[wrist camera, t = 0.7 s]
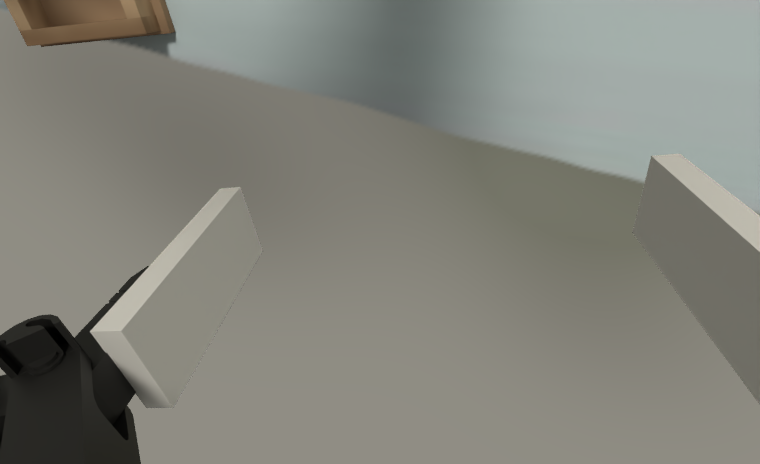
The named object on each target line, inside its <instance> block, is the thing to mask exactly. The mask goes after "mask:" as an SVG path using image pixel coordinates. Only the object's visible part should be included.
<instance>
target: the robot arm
mask: <svg viewBox="0 0 760 464" xmlns="http://www.w3.org/2000/svg"><path fill="white" fill-rule="evenodd" d="M632 233H633V234H634V236H635V237H636V238H637V240H638V241H639V242H640V244H641V245H642V246H643V248H644V249H645V250H646V252H647V253H648V254H649V256H650V257H651V258H652V259H653V261H654V262H655V264H656V265H657V267H658V268H659V269H660V271H661V272H662V273H663V274H664V276H665V277H666V279H667V280H668V281H669V282H670V284H671V285H672V287H673V288H674V289H675V291H676V292H677V293H678V295H679V296H680V297H681V299H682V300H683V302H684V303H685V304H686V306H687V307H688V308H689V310H690V311H691V312H692V314H693V315H694V316H695V318H696V319H697V320H698V322H699V323H700V325H701V326H702V327H703V329H704V330H705V331H706V333H707V334H708V335H709V337H710V338H711V339H712V341H713V342H714V343H715V345H716V346H717V347H718V349H719V350H720V352H721V353H722V354H723V355H724V357H725V358H726V360H727V361H728V362H729V364H730V365H731V366H732V368H733V369H734V370H735V372H736V373H737V374H738V376H739V377H740V378H741V380H742V381H743V383H744V384H745V385H746V387H747V388H748V389H749V391H750V392H751V393H752V395H753V396H754V397H755V399H756V400H757V401H758V403H759V404H760V216H759V215H758V214H756V213H755V212H754V211H753V210H751V209H750V208H749V207H747V206H746V205H745V204H744V203H742V202H741V201H740V200H738V199H737V198H736V197H735V196H733V195H732V194H731V193H729V192H728V191H727V190H726V189H724V188H723V187H722V186H720V185H719V184H718V183H717V182H715V181H714V180H713V179H711V178H710V177H709V176H708V175H706V174H705V173H704V172H703V171H701V170H700V169H699V168H697V167H696V166H695V165H694V164H692V163H691V162H690V161H688V160H687V159H686V158H685V157H683V156H682V155H681V154H671V155H657V156H651V160H650V164H649V168H648V172H647V176H646V180H645V184H644V188H643V192H642V196H641V200H640V204H639V208H638V212H637V216H636V220H635V224H634V228H633V232H632ZM262 252H263V249H262V246H261V243H260V240H259V238H258V235H257V232H256V229H255V227H254V224H253V221H252V218H251V215H250V212H249V209H248V207H247V204H246V201H245V198H244V195H243V193H242V190H241V187H233V188H220V189H219V190H218V191H217V192H216V194H215V195H214V196H213V197H212V198H211V199H210V200H209V201H208V202H207V203H206V205H205V206H204V207H203V208H202V209H201V210H200V211H199V212H198V213H197V214H196V216H195V217H194V218H193V219H192V220H191V221H190V222H189V223H188V224H187V225H186V226H185V228H184V229H183V230H182V231H181V232H180V233H179V234H178V235H177V236H176V237H175V239H174V240H173V241H172V242H171V243H170V244H169V245H168V246H167V247H166V249H165V250H164V251H163V252H162V253H161V254H160V255H159V256H158V257H157V258H156V259H155V261H154V262H153V263H152V264H151V265H150V266H147V267H146V268H144V269H143V270H141V271H140V272H139V273H137V274H136V275H134V276H132V277H131V278H130V279H129V280H128V281H127V282H126V283H125V285H123V287H122V288H121V289H120V290H119V293H116V294H115V295H114V296H113V297H112V298H111V299H110V300H109V304H106V305H105V306H104V307H103V308H102V309H101V310H100V311H99V312H98V313H97V314H96V315H95V316H94V317H93V319H92V320H91V321H90V322H89V323H88V324H87V325H86V326H85V327H84V328H83V329H82V330H81V332H79V334H78V335H77V336H76V337H75V338H74V337H73V336H72V335H71V333H70V332H69V331H68V329H67V328H66V327H65V326H64V324H63V323H62V322H61V320H60V319H59V318H58V317H57V316H54V315H41V316H37V317H34V318H31V319H28V320H26V321H23V322H21V323H19V324H17V325H15V326H14V327H12V328H10V329H9V330H7V331H6V332H5V333H3V334H2V335H0V368H1V369H2V370H3V371H4V372H5V373H6V375H2V376H0V464H141V462H140V456H139V449H138V443H137V437H136V431H135V426H134V419H133V414H132V413H131V410H130V409H129V408H128V406H127V405H128V403H129V402H130V400H131V399H132V397H133V396H134V394H135V393H136V395H137V396H138V397H139V399H140V400H141V401H142V403H143V404H144V405H145V407H146V408H174V406H175V405H176V403H177V401H178V399H179V397H180V395H181V394H182V392H183V391H184V389H185V387H186V385H187V383H188V382H189V380H190V378H191V376H192V375H193V373H194V371H195V369H196V368H197V366H198V364H199V362H200V361H201V359H202V357H203V355H204V354H205V352H206V350H207V348H208V347H209V345H210V343H211V341H212V340H213V338H214V336H215V334H216V333H217V331H218V329H219V327H220V326H221V324H222V322H223V320H224V319H225V317H226V315H227V313H228V311H229V310H230V308H231V306H232V304H233V303H234V301H235V299H236V297H237V296H238V294H239V292H240V290H241V289H242V287H243V285H244V283H245V282H246V280H247V278H248V276H249V275H250V273H251V271H252V269H253V267H254V266H255V264H256V262H257V261H258V259H259V257H260V255H261V254H262Z"/></svg>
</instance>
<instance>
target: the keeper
mask: <svg viewBox="0 0 760 464" xmlns="http://www.w3.org/2000/svg"><path fill="white" fill-rule="evenodd" d="M4 1H5V3H6V5H7V7H8V9H9V11H10V13H11V15H12V17H13V19H14V21H15V23H16V25H17V27H18V29H19V31H20V33H21V35H22V36H23V38H24V40H25V42H26V44H27V46H33V45H41V47H44V46H53V45H62V44H72V43H82V42H90V41H101V40H110V39H120V38H129V37H139V36H148V35H157V34H167V33H173V32H175V30H174V26H173V23H172V20H171V17H170V14H169V11H168V8H167V5H166V2H165V0H4Z"/></svg>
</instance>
